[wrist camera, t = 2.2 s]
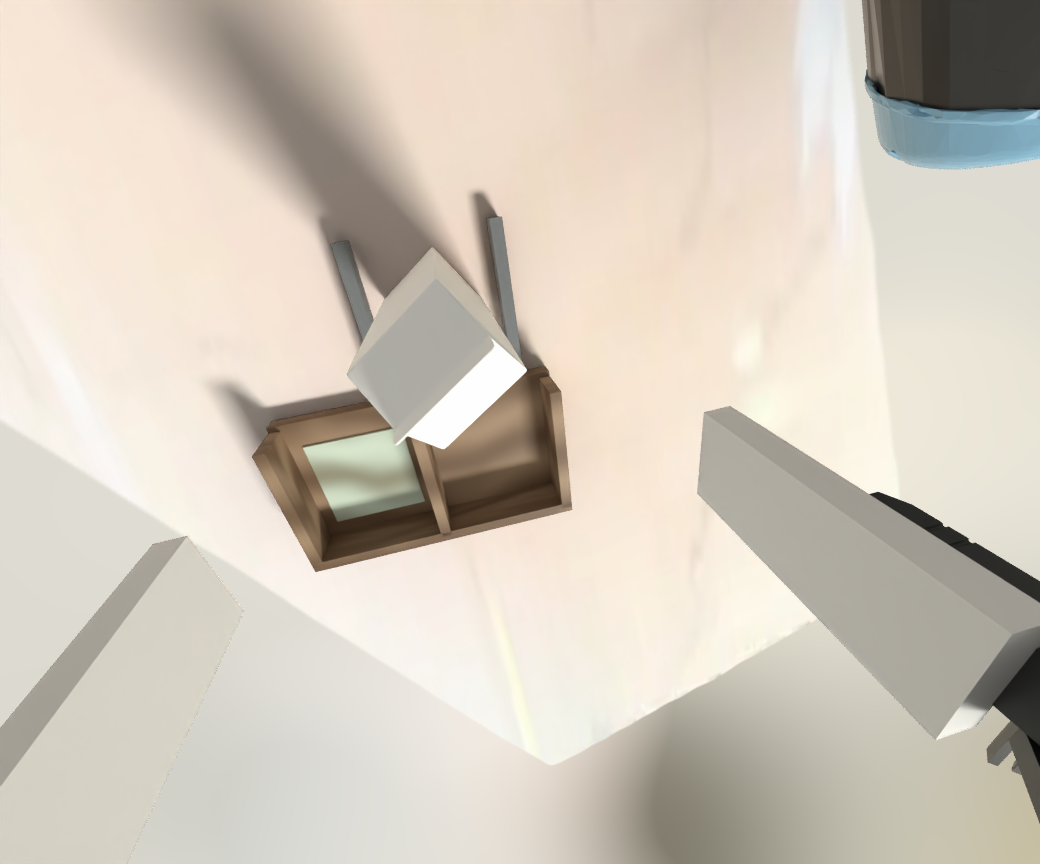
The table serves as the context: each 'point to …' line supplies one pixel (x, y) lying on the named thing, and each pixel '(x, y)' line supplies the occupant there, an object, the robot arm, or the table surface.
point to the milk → (434, 356)
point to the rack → (416, 475)
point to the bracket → (500, 268)
